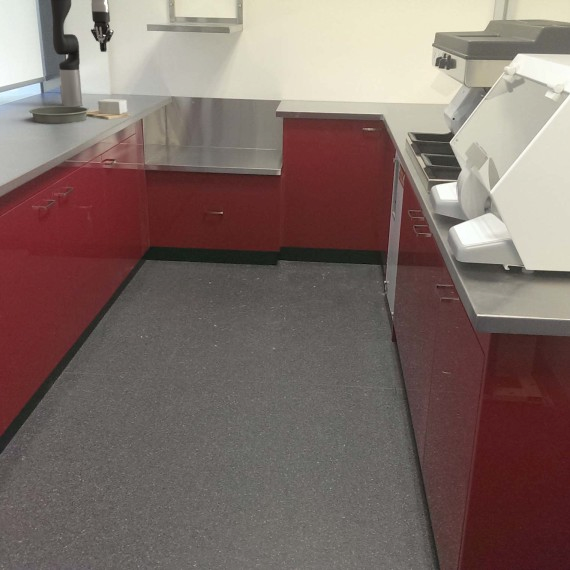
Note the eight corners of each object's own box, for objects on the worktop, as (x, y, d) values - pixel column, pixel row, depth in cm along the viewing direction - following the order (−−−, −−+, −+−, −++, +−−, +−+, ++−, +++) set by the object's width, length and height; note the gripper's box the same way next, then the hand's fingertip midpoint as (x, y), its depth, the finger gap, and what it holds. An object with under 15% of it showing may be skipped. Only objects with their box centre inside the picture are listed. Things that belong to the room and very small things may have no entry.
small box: (98, 113, 307) (119, 114, 305) (97, 100, 305) (118, 101, 303) (106, 111, 314) (127, 112, 312) (106, 98, 312) (126, 99, 310)
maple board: (78, 114, 309) (78, 112, 308) (100, 111, 319) (100, 109, 318) (108, 119, 298) (108, 117, 298) (130, 116, 308) (130, 113, 308)
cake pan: (29, 117, 301) (28, 106, 300) (86, 115, 310) (85, 105, 308) (31, 125, 280) (30, 114, 278) (92, 123, 288) (91, 112, 287)
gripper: (83, 10, 301) (87, 51, 308) (104, 10, 294) (107, 52, 301) (97, 10, 307) (100, 50, 314) (117, 11, 300) (120, 52, 307)
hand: (103, 51), depth 307 cm, fingers closed
